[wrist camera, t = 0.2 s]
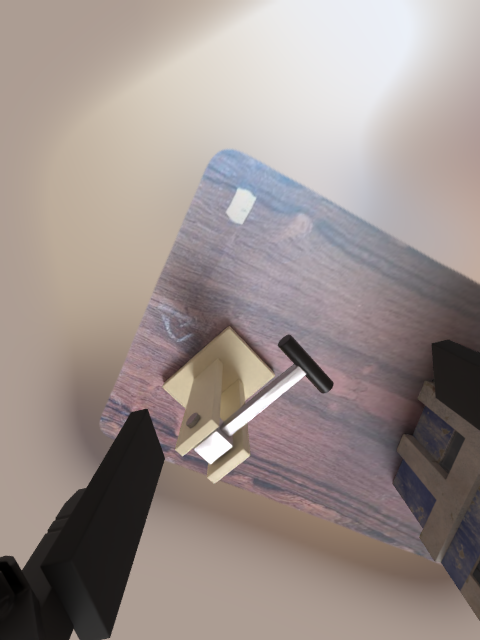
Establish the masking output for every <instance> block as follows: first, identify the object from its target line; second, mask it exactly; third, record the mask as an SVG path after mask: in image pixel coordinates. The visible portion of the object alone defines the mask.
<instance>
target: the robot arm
mask: <svg viewBox="0 0 480 640" xmlns="http://www.w3.org/2000/svg"><path fill="white" fill-rule="evenodd" d="M432 355H433V370H434V384H435V398H436V399H438V400H439V401H441V402H442V403H443V404H445V405H446V406H447V407H449V408H450V409H451V410H453V411H454V412H455V413H457V414H458V415H459V416H461V417H462V418H463V419H465V420H466V421H467V422H469V423H470V424H471V425H473V426H474V427H475V428H477V429H478V430H479V431H480V353H478V352H476V351H474V350H471V349H469V348H467V347H464V346H462V345H460V344H458V343H455V342H453V341H451V340H445V341H441V342H436V343H432ZM164 460H165V457H164V454H163V451H162V448H161V446H160V443H159V440H158V437H157V434H156V432H155V429H154V426H153V423H152V420H151V417H150V415H149V412H148V409H144V410H139V411H135V412H131V414H130V415H129V417H128V419H127V420H126V422H125V424H124V425H123V427H122V429H121V430H120V432H119V434H118V436H117V437H116V439H115V441H114V442H113V444H112V446H111V447H110V449H109V451H108V453H107V454H106V456H105V458H104V460H103V461H102V463H101V464H100V466H99V468H98V469H97V471H96V473H95V474H94V476H93V478H92V480H91V481H90V483H89V485H88V486H87V488H84V489H79V490H78V491H77V492H76V493H75V494H74V495H73V496H72V497H71V498H70V499H69V500H68V501H67V502H66V503H65V504H64V506H63V507H62V509H61V510H60V512H59V514H58V515H57V517H56V520H55V521H53V523H52V524H51V526H50V527H49V529H48V533H47V534H45V535H44V537H43V538H42V540H41V542H40V543H39V545H38V546H37V548H36V549H35V551H34V552H33V554H32V556H31V557H30V559H29V560H28V562H27V563H26V565H25V567H24V568H23V570H21V569H20V567H19V565H18V564H17V562H16V560H15V559H14V557H13V556H3V557H0V640H69V639H70V636H71V634H72V631H73V629H74V630H75V632H76V634H77V636H78V637H79V639H80V640H102V639H107V638H110V636H111V632H112V629H113V626H114V623H115V620H116V617H117V613H118V610H119V607H120V604H121V600H122V597H123V593H124V590H125V587H126V584H127V581H128V577H129V574H130V571H131V568H132V564H133V561H134V558H135V555H136V551H137V548H138V544H139V542H140V538H141V535H142V532H143V528H144V525H145V522H146V519H147V515H148V512H149V509H150V505H151V502H152V499H153V496H154V492H155V489H156V486H157V483H158V479H159V476H160V473H161V469H162V466H163V463H164Z"/></svg>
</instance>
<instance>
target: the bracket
mask: <svg viewBox="0 0 480 640" xmlns="http://www.w3.org/2000/svg"><path fill="white" fill-rule="evenodd" d="M273 377H275V374H274V372H273V371H272V370H271V369H270V368H269V367H268V366H267V365H266V364H265V362H264V361H263V360H262V359H261V358H260V357H259V356H258V355H257V354H256V353H255V352H254V351H253V350H252V349H251V348H250V347H249V346H248V345H247V344H246V342H245V341H244V340H243V339H242V338H241V337H240V336H239V335H238V334H237V333H236V332H235V331H234V330H233V329H232V328H231V327H230V326H228V327H227V328H226V329H225V330H223V331H222V332H221V333H220V334H219V335H218V336H217V337H215V338H214V339H213V340H212V341H211V342H210V343H209V344H208V345H206V346H205V347H204V348H203V349H202V350H201V351H200V352H198V353H197V354H196V355H195V356H194V357H193V358H192V359H191V360H189V361H188V362H187V363H186V364H185V365H184V366H183V367H182V368H180V369H179V370H178V371H177V372H176V373H175V374H174V375H172V376H171V377H170V378H169V379H168V380H167V381H166V382H165V383H164V384H163V386H162V387H163V388H164V389H165V390H166V391H167V392H168V393H169V394H170V395H171V396H172V397H173V398H174V399H176V400H177V401H178V402H179V403H180V404H181V405H182V406H183V407H184V408H185V409H186V410H185V413H184V417H183V421H182V424H181V428H180V432H179V436H178V439H177V443H176V447H175V450H176V451H177V452H178V453H179V454H180V455H182V456H184V455H185V454H186V453H187V452H189V451H190V450H191V449H192V448H193V447H195V446H196V445H197V444H198V443H199V442H201V441H202V440H203V439H204V438H206V437H207V436H208V435H209V434H210V433H212V432H213V431H214V430H215V429H217V428H218V427H219V422H220V418H221V419H222V420H223V421H225V420H226V419H227V418H229V417H230V416H231V415H232V414H233V413H235V412H236V411H237V410H238V409H240V408H241V407H242V406H243V405H244V404H245V400H247V399H248V398H249V397H250V396H251V395H253V394H254V393H255V392H256V391H258V390H259V389H260V388H261V387H262V386H264V385H265V384H266V383H267V382H268V381H270V380H271V379H272V378H273ZM249 456H250V445H249V435H248V425H247V423H246V424H245V425H244V426H242V427H241V428H240V429H239V430H237V431H236V432H235V433H234V434H233V447H232V448H230V449H229V450H228V451H227V452H225V453H224V454H223V455H222V456H220V457H219V458H218V459H217V460H215V461H214V462H213V463H212V464H209V463H208V471H207V478H208V479H209V480H210V481H211V482H213V483H214V484H215V483H216V482H217V481H219V480H220V479H221V478H222V477H224V476H225V475H226V474H228V473H229V472H230V471H231V470H233V469H234V468H235V467H236V466H238V465H239V464H240V463H242V462H243V461H244V460H245V459H247V458H248V457H249Z"/></svg>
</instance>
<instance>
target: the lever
mask: <svg viewBox="0 0 480 640" xmlns="http://www.w3.org/2000/svg"><path fill="white" fill-rule="evenodd" d="M278 347H279V348H280V349H281V350H282V351H283V352H284V353H285V354H286V355H287V356H288V358H289V359H290V360H291V361H292V362H293V363H294V364H293V365H292V366H291V367H289V368H288V369H287V370H286V371H285V372H283V373H282V374H281V375H280V376H278V377H277V378H276V379H275V380H274V381H272V382H271V383H270V384H269V385H268V386H266V387H265V388H264V389H263V390H261V391H260V392H259V393H258V394H257V395H255V396H254V397H253V398H252V399H250V400H249V401H248V402H247V403H246V404H244V405H243V406H242V407H241V408H240V409H238V410H237V411H236V412H235V413H233V414H232V415H231V416H230V417H229V418H227V419H226V420H225V421H223V420H222V419H221V418H220V422H219V427H218V428H217V429H215V430H214V431H213V432H212V433H210V434H209V435H208V436H207V437H206V438H204V439H203V440H202V441H201V442H199V443H198V444H197V445H196V446H195V447H194V450H195V451H196V452H197V453H198V454H199V455H200V456H201V457H202V458H204V459H205V460H206V461H207V462H208V463H209V464H212V463H213V462H214V461H215V460H217V459H218V458H219V457H220V456H222V455H223V454H224V453H225V452H227V451H228V450H229V449H230V448H232V447H233V434H234V433H235V432H236V431H237V430H239V429H240V428H241V427H242V426H244V425H245V424H246V423H247V422H248V421H250V420H251V419H252V418H253V417H255V416H256V415H257V414H258V413H260V412H261V411H262V410H263V409H265V408H266V407H267V406H268V405H270V404H271V403H272V402H273V401H274V400H276V399H277V398H278V397H279V396H281V395H282V394H283V393H284V392H286V391H287V390H288V389H289V388H291V387H292V386H293V385H294V384H295V383H297V382H298V381H299V380H300V379H302V378H303V377H304V376H306V377H307V378H308V379H309V380H310V381H311V382H312V384H313V385H314V386H315V387H316V388H317V389H318V390H319V391H320V392H321V393H327V392H328V391H330V390H331V389H332V387H333V381H332V380H331V379H330V378H329V377H328V376H327V375H326V374H325V373H324V371H323V370H322V369H321V368H320V367H319V366H318V365H317V364H316V363H315V361H314V360H313V359H312V358H311V357H310V356H309V355H308V354H307V353H306V351H305V350H304V349H303V348H302V347H301V346H300V345H299V344H298V342H297V341H296V340H295V339H294V338H293V337H292V336H291V335H286V336H285V337H283V338H282V339H281V340H280V341H279V343H278Z"/></svg>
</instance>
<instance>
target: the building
mask: <svg viewBox="0 0 480 640" xmlns="http://www.w3.org/2000/svg"><path fill="white" fill-rule="evenodd" d="M418 400H420V401H421V402H422V403H423V404H424V405H425V407H424V409H423V412H422V414H421V417H420V419H419V421H418V424H417V426H416V429H415V431H414V434H413V435H407V434H403V436H402V438H401V441H400V443H399V446H398V448H397V452H398V453H399V454H400V455H401V457H402V458H403V460H402V462H401V465H400V467H399V470H398V472H397V475H396V477H395V479H394V482H393V485H394V487H395V488H396V489H397V491H398V492H399V494H400V495H401V497H402V498H403V500H404V501H405V503H406V504H407V506H408V507H409V509H410V510H411V512H412V513H413V514H414V516H415V517H416V519H417V520H418V522H419V523H420V525H421V526H422V528H423V530H422V532H421V535H420V537H419V538H420V539H421V541H422V542H423V544H424V545H425V547H426V549H427V550H428V552H429V553H430V555H431V556H432V558H433V559H434V561H435V562H441V563H442V565H443V566H444V568H445V569H446V571H447V572H448V574H449V575H450V577H451V578H452V580H453V581H454V583H455V584H456V586H457V587H458V589H459V590H460V592H461V593H462V595H463V596H464V598H465V599H466V601H467V602H468V604H469V605H470V607H471V609H472V610H473V612H474V613H475V615H476V616H477V618H478V619H479V620H480V431H479V430H478V429H477V428H475V427H474V426H473V425H471V424H470V423H469V422H467V421H466V420H465V419H463V418H462V417H461V416H459V415H458V414H457V413H455V412H454V411H453V410H451V409H450V408H449V407H447V406H446V405H445V404H443V403H442V402H441V401H439V400H438V399H436V398H435V384H434V379H433V382H430V381H425V382H424V384H423V387H422V389H421V392H420V394H419V396H418Z"/></svg>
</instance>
